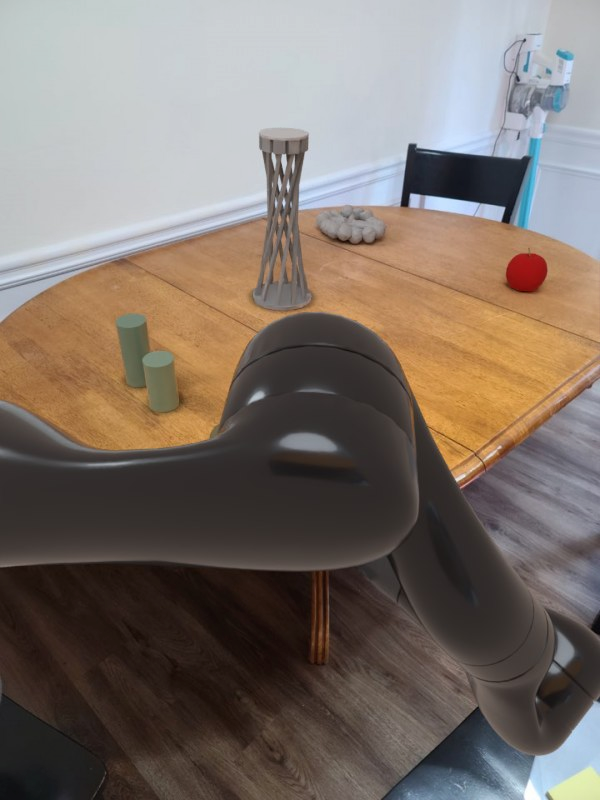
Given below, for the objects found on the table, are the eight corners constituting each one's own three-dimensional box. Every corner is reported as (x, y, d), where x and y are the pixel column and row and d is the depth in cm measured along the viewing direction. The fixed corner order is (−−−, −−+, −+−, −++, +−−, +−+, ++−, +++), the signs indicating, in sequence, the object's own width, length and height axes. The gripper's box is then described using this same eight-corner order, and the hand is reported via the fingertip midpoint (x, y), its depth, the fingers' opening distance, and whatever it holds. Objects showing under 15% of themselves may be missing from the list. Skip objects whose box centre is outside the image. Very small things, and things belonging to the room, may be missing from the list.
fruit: (531, 280, 142) (542, 241, 136) (548, 295, 135) (560, 255, 129) (496, 280, 141) (506, 242, 135) (511, 296, 134) (522, 256, 128)
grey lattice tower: (315, 309, 126) (324, 140, 105) (255, 312, 124) (252, 140, 103) (305, 283, 136) (311, 125, 116) (250, 285, 135) (246, 125, 114)
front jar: (158, 416, 93) (151, 370, 88) (144, 401, 96) (136, 356, 91) (184, 405, 96) (179, 360, 90) (170, 391, 99) (164, 347, 93)
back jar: (134, 390, 99) (123, 330, 92) (121, 378, 102) (110, 318, 95) (159, 381, 101) (151, 321, 94) (147, 369, 104) (138, 310, 97)
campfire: (401, 234, 166) (404, 214, 163) (358, 253, 153) (360, 232, 150) (343, 216, 178) (344, 197, 174) (298, 232, 165) (299, 212, 161)
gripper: (443, 484, 55) (333, 405, 65) (334, 556, 48) (229, 455, 58) (431, 535, 60) (330, 454, 70) (329, 609, 52) (233, 506, 62)
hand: (284, 455), depth 64 cm, fingers open, 8 cm apart
